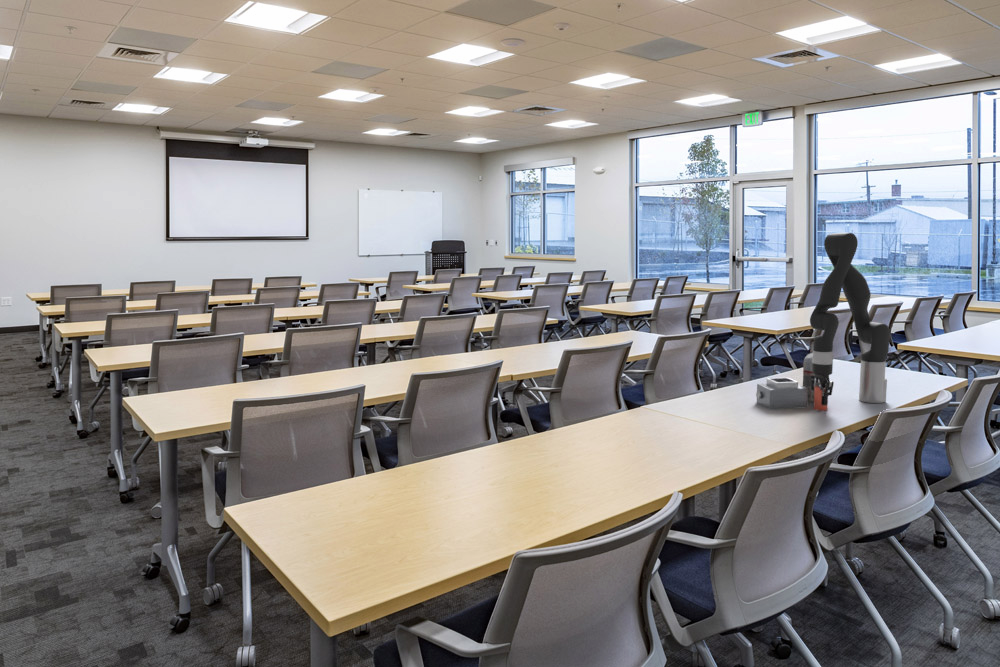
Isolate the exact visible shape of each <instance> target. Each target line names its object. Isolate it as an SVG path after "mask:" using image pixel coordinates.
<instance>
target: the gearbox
mask: <svg viewBox="0 0 1000 667" xmlns="http://www.w3.org/2000/svg"><path fill="white" fill-rule="evenodd" d="M755 394H756V395H755V397H756V403H757V404H759V405H761V406H762V407H764V408H766V409H768V410H781V409H782V410H783V409H804V408H805V409H806V408H808V388H806V387H804V386H803V385H801V384H799V381H797V380H795V379H792V378H790V377H772V378H771V377H769V378H766V382H765V383H756V393H755Z"/></svg>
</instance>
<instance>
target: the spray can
mask: <svg viewBox="0 0 1000 667" xmlns="http://www.w3.org/2000/svg"><path fill="white" fill-rule="evenodd" d="M812 357H813V352H812V353H811V352H810V353H808V354H806V356H805V357H804V359H803V364H802V368H803V369H802V370H803V371H802V373H803V374H802V375H803V376H802V386H804V387H806V388H808V402H809V403H814V391H813V390H812V389H811V379H810V376H813V375H815V374H813V373H812ZM808 402H807V403H808Z"/></svg>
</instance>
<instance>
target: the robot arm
mask: <svg viewBox="0 0 1000 667" xmlns="http://www.w3.org/2000/svg"><path fill="white" fill-rule="evenodd" d="M858 243H859V242H858V238H857V236H856V235H855V233H852V232H836V233H829V234H827V235H826V237H825V238H824V244H823V246H824V251H825V252H826V253H825V254H826V255H827V257H828V260H829V261H830V262H831V264H832V266H833V270H832V271H831V272H830V273H829V275H828V276H827V277H826V279H825V280H824V282H823V284H822V287H821V291H820V295H819V300H818V301H817V304H816V306H815V307H814V309H813V311H812V312H811V315H810V318H809V324H810V327H811V328H812V329H815V330H817V331H818V330H820V331H823V334H822V335H817V336H815V337H814V338H813V351H812V353H813V357H812V373H813V374H815V375H813V376H810V379H811V389H812V390H813V391H814V392H815V386H818V385H815V383H819V387H820V390H821V393H822V402H821V404H822V405H827V404H828V402H829V400H828V399H829V396H832V394H833V388H834V384H835V383H834V381H833V380H830V375H832V374H833V368H834V367H833V366H834V364H833V363H834V362H833V361H834V354H833V353H834V351H833V350H834V349H833V348H834V346H833V345H834V340H835V336H836V332H837V330H838V328H839V323H840V322H839V318H838V316H837V315H836V314H835V313H832V312H831V313H830V312H828V310H830V309H834V308H837V306H838V304H839V301H840V297H841V293H842V292H843V293H844V297H845V299H846V301H847V303H848V306H849V309H850V312H851V315H852V318H853V323H854V327H855V330H856V334H857V335H856V336H857V337H858V339H859V340H860V341H861V342H862V343H864V344H870V349H869V350H868V351H864V352H862V353H861V354H860V369H859V372H860V374H859V388H858V389H859V390H858V391H859V392H858V400H859V402H863V403H870V404H880V403H884V402H885V403H886V402H887V388H888V387H887V386H888V379H887V378H886V364H887V357H888V354H889V349H890V340H891V331H890V328H889V326H888V325H887V324H886V323H883V322H876V321H872V319H871V317H870V314H869V308H868V307H869V304H870V301H871V290H870V287H869V285H868V281H867V279H866V278H865V277H864V275H863V274H862V273H861V272H860V271H859V270H858V269H857V268H856V267H855V266H854V265H853V264H852V262H853V259H854V257H855V255H856V253H857V249H858V246H859V245H858ZM823 387H825V388H823ZM824 390H825V392H824Z"/></svg>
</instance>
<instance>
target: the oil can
mask: <svg viewBox="0 0 1000 667" xmlns="http://www.w3.org/2000/svg"><path fill="white" fill-rule="evenodd" d="M815 385H818V386H815V392H814V402H813V410H816V411H827V410H828V407H829V406H828V404H827V405H822V404H821V402H822V393H821V390H820V387H819V383H815ZM823 388H825V387H823ZM824 392H825V390H824Z"/></svg>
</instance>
